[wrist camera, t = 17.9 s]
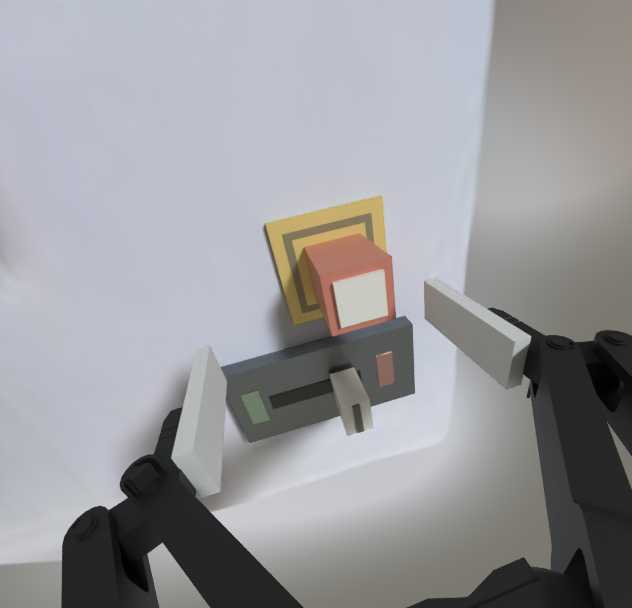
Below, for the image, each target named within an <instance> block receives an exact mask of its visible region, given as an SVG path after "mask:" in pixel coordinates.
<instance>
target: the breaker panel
mask: <svg viewBox="0 0 632 608" xmlns="http://www.w3.org/2000/svg"><path fill="white" fill-rule="evenodd" d="M353 367H354V368H355V370H356V372H357V374H358V376H359V378H360V380H361V382H362V384H363V387H364V389H365V391H366V393H367V395H368V397H369V400H370V407H371V406H374V405H378V404H381V403H384V402H388V401H391V400H394V399H398V398H401V397H404V396H408V395H411V394H414V393H415V382H414V353H413V325H412V323H411V322H410V321H409V320H408V319H407V318H406V317H405V316H403V317H400V318H396V319H393V320H390V321H386V322H383V323H379V324H375V325H372V326H368V327H365V328H361V329H357V330H354V331H350V332H347V333H343V334H340V335H336V336H331V337H328V338H324V339H321V340H317V341H313V342H310V343H306V344H303V345H299V346H295V347H292V348H288V349H285V350H281V351H277V352H274V353H270V354H267V355H263V356H260V357H256V358H252V359H249V360H245V361H242V362H238V363H234V364H231V365H227V366H224V367H221V370H222V372H223V374H224V376H225V378H226V380H227V389H226V396H227V398H228V400H229V402H230V404H231V406H232V408H233V410H234V412H235V414H236V417H237V419H238V421H239V423H240V425H241V427H242V429H243V431H244V433H245V435H246V437H247V439H248V441H249V443H251V442H255V441H258V440H261V439H265V438H268V437H271V436H275V435H278V434H281V433H285V432H288V431H291V430H295V429H298V428H301V427H305V426H308V425H311V424H315V423H318V422H321V421H325V420H328V419H331V418H335V417H338V416H340V413H339V410H338V407H337V404H336V400H335V396H334V392H333V387H332V383H331V379H330V374H332V373H336V372H339V371H343V370H346V369H350V368H353Z"/></svg>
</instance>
